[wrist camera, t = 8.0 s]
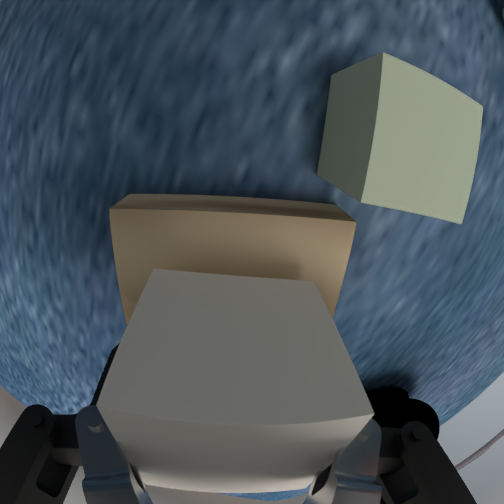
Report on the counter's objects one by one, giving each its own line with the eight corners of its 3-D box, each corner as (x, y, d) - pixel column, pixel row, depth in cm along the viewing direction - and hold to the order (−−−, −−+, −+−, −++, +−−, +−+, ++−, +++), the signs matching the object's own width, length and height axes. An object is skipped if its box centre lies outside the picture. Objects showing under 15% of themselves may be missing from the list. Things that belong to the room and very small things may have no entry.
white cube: (153, 268, 10) (96, 405, 4) (314, 281, 10) (374, 413, 5) (163, 374, 12) (145, 484, 7) (283, 381, 13) (304, 488, 8)
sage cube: (330, 75, 11) (382, 52, 6) (415, 104, 11) (482, 106, 7) (316, 175, 13) (360, 202, 8) (400, 192, 13) (461, 223, 9)
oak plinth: (133, 191, 13) (108, 209, 10) (333, 202, 14) (356, 221, 11) (150, 344, 17) (140, 378, 14) (301, 350, 18) (310, 383, 15)
